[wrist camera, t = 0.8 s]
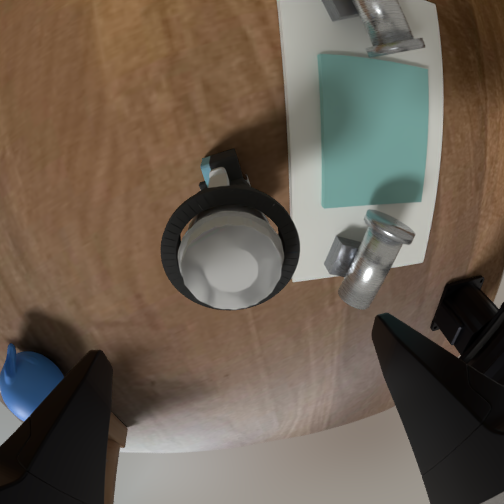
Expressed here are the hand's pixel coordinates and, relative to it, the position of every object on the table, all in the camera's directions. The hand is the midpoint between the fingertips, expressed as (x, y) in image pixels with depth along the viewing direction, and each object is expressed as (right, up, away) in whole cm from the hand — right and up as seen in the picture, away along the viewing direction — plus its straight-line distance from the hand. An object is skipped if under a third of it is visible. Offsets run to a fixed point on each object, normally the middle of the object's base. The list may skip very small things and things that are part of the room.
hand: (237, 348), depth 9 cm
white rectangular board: (+9, +11, +9) cm, 17 cm away
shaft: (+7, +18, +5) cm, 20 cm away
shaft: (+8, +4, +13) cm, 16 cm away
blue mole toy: (-26, -10, +18) cm, 33 cm away
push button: (-1, +7, +11) cm, 13 cm away
